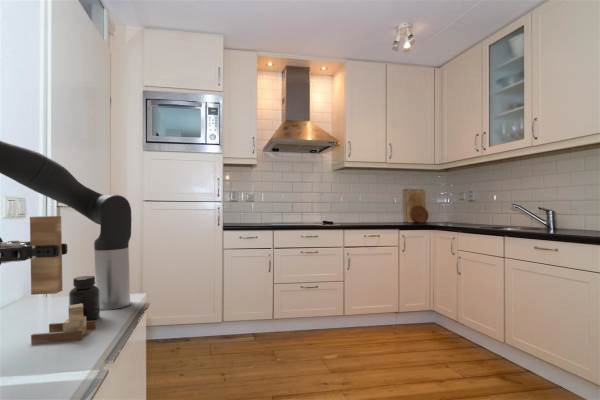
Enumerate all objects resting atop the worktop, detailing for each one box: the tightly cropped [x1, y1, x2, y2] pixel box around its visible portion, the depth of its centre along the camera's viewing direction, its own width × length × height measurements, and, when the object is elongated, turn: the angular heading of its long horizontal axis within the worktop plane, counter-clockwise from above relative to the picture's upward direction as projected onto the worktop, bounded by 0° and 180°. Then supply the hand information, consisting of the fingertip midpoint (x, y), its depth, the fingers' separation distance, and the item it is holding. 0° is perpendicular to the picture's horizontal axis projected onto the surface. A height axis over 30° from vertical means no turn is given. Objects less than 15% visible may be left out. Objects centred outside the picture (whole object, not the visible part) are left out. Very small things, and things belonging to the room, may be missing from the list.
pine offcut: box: [62, 317, 87, 334], centre depth 86 cm, size 4×3×4 cm
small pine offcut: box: [67, 303, 84, 322], centre depth 87 cm, size 3×3×3 cm
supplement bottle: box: [68, 275, 101, 321], centre depth 98 cm, size 7×7×12 cm
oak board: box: [29, 215, 63, 296], centre depth 76 cm, size 2×4×15 cm, turn 97°
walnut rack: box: [30, 320, 97, 345], centre depth 86 cm, size 8×10×3 cm
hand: (62, 249), depth 76 cm, fingers closed on oak board, 2 cm apart
